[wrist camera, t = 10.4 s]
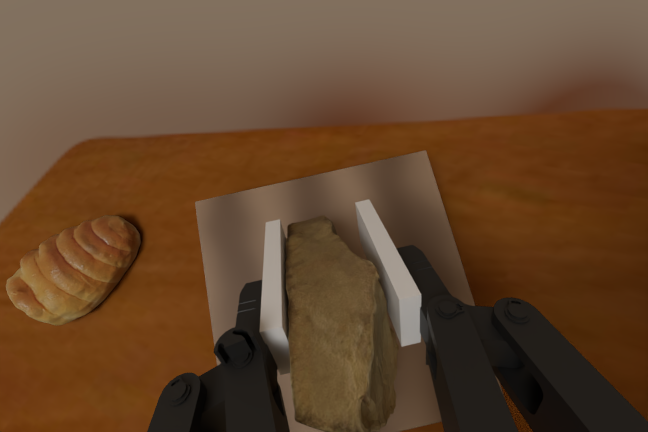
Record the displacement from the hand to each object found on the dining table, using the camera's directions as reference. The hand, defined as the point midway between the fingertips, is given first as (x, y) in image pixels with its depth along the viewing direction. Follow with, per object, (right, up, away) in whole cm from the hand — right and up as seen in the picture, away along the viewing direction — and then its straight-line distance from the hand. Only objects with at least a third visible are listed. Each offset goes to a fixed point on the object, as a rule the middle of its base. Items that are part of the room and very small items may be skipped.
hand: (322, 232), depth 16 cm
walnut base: (+1, -5, +9) cm, 10 cm away
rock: (+1, -4, +3) cm, 5 cm away
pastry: (-20, -4, +10) cm, 23 cm away
